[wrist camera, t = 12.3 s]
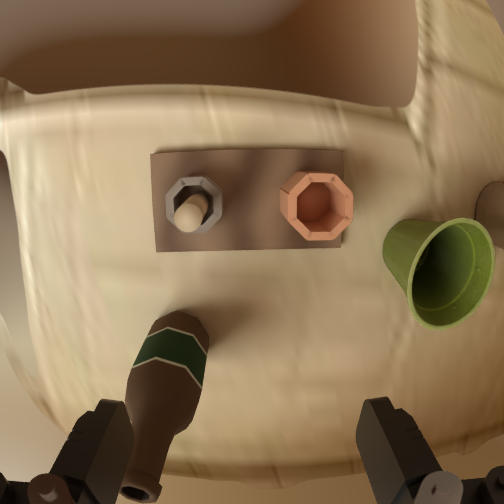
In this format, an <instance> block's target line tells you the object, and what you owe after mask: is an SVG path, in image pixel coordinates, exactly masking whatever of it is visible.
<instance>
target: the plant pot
mask: <svg viewBox="0 0 504 504" xmlns="http://www.w3.org/2000/svg"><path fill="white" fill-rule="evenodd" d="M424 249H425V251H424ZM423 251H424V254H423V256H421V254H422V252H423ZM383 258H384V261H385V264H386V266H387V267H388V269H389V270H390V271H391V273H392V274H393V276H394V277H395V278H396V280H397V281H398V283H399V284H400V286H401V287H402V289H403V290H404V291H405V294H406V296H407V299H408V304H409V308H410V311H411V313H412V315H413V316H414V318H415V319H416V321H417V322H418V323H419V324H421V325H422V326H423V327H425V328H428V329H431V330H446V329H449V328H452V327H455V326H457V325H459V324H460V323H462V322H463V321H465V320H466V319H467V318H468V317H470V316H471V315H472V314H473V313H474V312H475V310H476V309H477V308H478V307H479V305H480V304H481V303H482V301H483V300H484V298H485V296H486V294H487V292H488V290H489V287H490V285H491V282H492V279H493V275H494V269H495V250H494V246H493V242H492V239H491V237H490V235H489V233H488V231H487V230H486V229H485V228H484V226H483V225H481V224H480V223H479V222H477V221H476V220H473V219H470V218H455V219H451V220H449V221H445V222H432V221H420V220H404V221H401V222H399V223H398V224H397V225H396V226H394V227H393V228H392V229H391V230H390V231H389V232H388V234H387V236H386V238H385V241H384V244H383ZM418 261H419V262H420V265H419V262H418Z"/></svg>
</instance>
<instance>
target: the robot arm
mask: <svg viewBox="0 0 504 504" xmlns="http://www.w3.org/2000/svg"><path fill="white" fill-rule="evenodd" d="M476 221H477V222H479V223H480V224H481V225H483V226H484V228H485V229H486V230H487V231H488V233H489V235H490V237H491V239H492V242H493V245H495V246H497V247H499V248H502V249H504V183H502V182H492V183H490V184H488V185H487V186H486V187H485V188H484V190H483V191H482V192H481V195H480V197H479V199H478V202H477V206H476ZM134 440H135V438H134V431H133V428H132V425H131V422H130V419H129V416H128V412H127V409H126V406H125V404H124V402H123V401H116V400H108V399H101V400H100V401H99V403H98V405H97V407H96V409H95V411H94V412H93V411H87V412H86V413H85V414H84V415H82V416H81V417H80V418H79V419H78V420H77V422H76V423H75V425H74V427H73V429H72V432H70V434H69V436H68V440H67V441H66V442H65V444H64V445H63V447H62V449H61V451H60V453H59V455H58V457H57V459H56V461H55V463H54V464H53V467H52V468H51V470H50V472H49V473H45V474H40V475H38V476H36V477H34V478H33V479H32V480H31V481H30V482H17V481H7V479H6V478H5V477H4V476H3V474H2V473H0V504H115V503H116V500H117V496H118V493H119V490H120V487H121V484H122V481H123V478H124V474H125V471H126V468H127V465H128V462H129V459H130V456H131V453H132V450H133V447H134ZM356 443H357V447H358V450H359V452H360V455H361V458H362V461H363V464H364V467H365V469H366V472H367V475H368V478H369V481H370V484H371V487H372V489H373V492H374V495H375V498H376V501H377V504H504V466H498V467H495V468H493V469H492V470H491V471H490V472H489V473H488V475H487V476H486V477H485V478H477V479H467V480H460V479H459V477H458V476H456V475H455V474H453V473H451V472H448V471H443V470H442V469H441V467H440V465H439V464H438V461H437V460H436V458H435V456H434V454H433V452H432V451H431V449H430V447H429V445H428V444H427V442H426V440H425V438H423V435H422V433H421V431H420V429H419V430H418V426H417V424H416V422H415V421H414V419H413V417H412V416H411V415H409V414H408V413H407V412H406V411H404V410H403V409H402V408H400V409H394V407H393V405H392V403H391V401H390V400H389V398H388V397H380V398H373V399H367V400H365V401H364V403H363V407H362V411H361V414H360V418H359V422H358V425H357V429H356Z"/></svg>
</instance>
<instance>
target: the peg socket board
mask: <svg viewBox="0 0 504 504" xmlns="http://www.w3.org/2000/svg"><path fill="white" fill-rule="evenodd" d="M150 159H151V184H152V202H153V217H154V230H155V242H156V252H184V251H223V250H262V249H303V248H341V234H342V232H341V233H340V234H339V235H338V236H337V237H336V238H335V239H333V240H309V241H308V240H306V239H305V238H304V237H303V236H302V235H301V234H300V233H299V232H298V231H297V230H296V229H295V228H294V227H293V226H292V225H291V224H290V223H289V222H288V221H287V220H286V218H285V217H284V216H283V215H282V213H281V211H280V189H282V188H280V187H281V186H282V185H283V184H284V183H285V182H286V181H287V180H288V179H289V178H290V177H291V176H292V175H293V174H294V173H295V172H297V171H317V172H326V173H333V174H336V175H337V176H338V177H339V178H340V179H341V181H342V182H343V151H337V150H310V149H233V150H206V151H187V152H172V153H158V154H150ZM195 192H204V193H205V194H206V195H207V196H208V197H209V206H208V208H207V211H206V213H205V215H204V217H203V220H202V222H201V224H200V226H199V227H198V228H197V229H196V230H195V231H192V232H184V231H182V230H180V229H179V228H178V227H177V226H176V224H175V221H174V215H175V212H176V210H177V209H178V208H179V207H180V206H181V205H182V204H183V203H184V202H185V201H186V200H187V199H188V198H189V197H190V196H191V195H192V194H193V193H195Z"/></svg>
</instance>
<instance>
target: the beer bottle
mask: <svg viewBox="0 0 504 504" xmlns="http://www.w3.org/2000/svg"><path fill="white" fill-rule="evenodd" d="M208 345H209V336H208V334H207V333H206V331H205V330H204V328H203V327H202V325H201V324H200V322H199V320H198V319H197V318H195V317H192V316H188V315H185V314H182V313H179V312H173V313H170V314H168V315H166V316H164V317H162V318H160V319H158V320H156V321H155V322H154V324H153V325H152V327H151V329H150V331H149V333H148V335H147V337H146V339H145V341H144V343H143V345H142V348H141V350H140V352H139V354H138V356H137V358H136V360H135V362H134V364H133V366H132V369H131V372H130V375H129V378H128V382H127V389H126V396H125V406H126V409H127V412H128V416H129V418H130V420H131V422H132V428H133V431H134V438H135V440H134V447H133V450H132V453H131V456H130V459H129V462H128V465H127V468H126V471H125V474H124V478H123V481H122V484H121V487H120V490H119V493H120V494H121V495H122V496H124V497H125V498H127V499H130V500H133V501H136V502H139V503H152V502H156V501H157V499H158V497H159V496H160V493H161V489H162V486H161V485H160V484H159V481H160V477H161V474H162V470H163V467H164V463H165V460H166V456H167V453H168V449H169V446H170V444H171V442H172V440H173V438H174V435H176V434H178V433H180V432H181V431H183V430H185V429H186V428H187V427H188V426H189V424H190V423H191V422H192V420H193V417H194V414H195V411H196V408H197V405H198V402H199V399H200V395H201V391H202V385H203V379H204V372H205V365H206V358H207V352H208Z"/></svg>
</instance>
